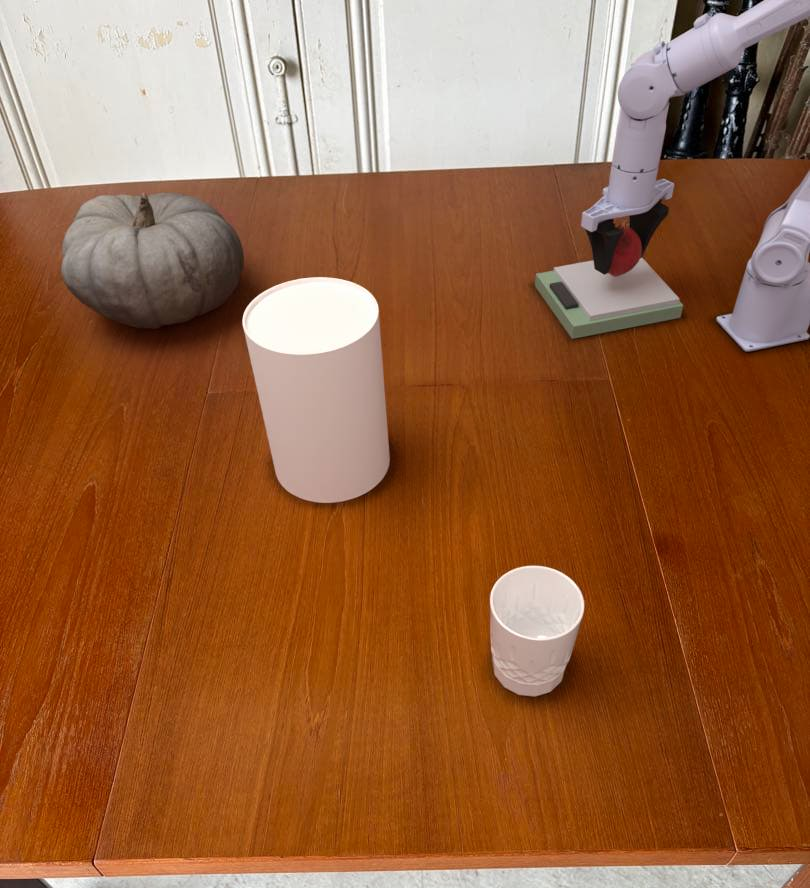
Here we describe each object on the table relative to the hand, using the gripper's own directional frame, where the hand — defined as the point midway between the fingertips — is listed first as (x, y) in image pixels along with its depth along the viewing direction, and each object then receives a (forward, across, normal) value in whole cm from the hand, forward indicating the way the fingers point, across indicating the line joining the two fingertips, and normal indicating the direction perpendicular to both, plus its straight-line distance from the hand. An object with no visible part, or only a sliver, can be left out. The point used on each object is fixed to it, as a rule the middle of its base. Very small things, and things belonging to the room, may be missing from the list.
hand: (618, 263), depth 111 cm
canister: (+6, +50, +4) cm, 50 cm away
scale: (+6, +1, 0) cm, 6 cm away
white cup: (+6, +50, +40) cm, 64 cm away
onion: (+2, 0, 0) cm, 2 cm away
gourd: (+6, +51, -40) cm, 65 cm away
